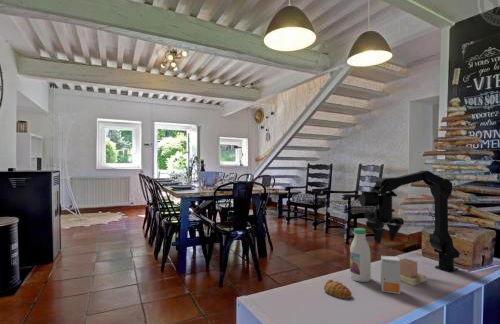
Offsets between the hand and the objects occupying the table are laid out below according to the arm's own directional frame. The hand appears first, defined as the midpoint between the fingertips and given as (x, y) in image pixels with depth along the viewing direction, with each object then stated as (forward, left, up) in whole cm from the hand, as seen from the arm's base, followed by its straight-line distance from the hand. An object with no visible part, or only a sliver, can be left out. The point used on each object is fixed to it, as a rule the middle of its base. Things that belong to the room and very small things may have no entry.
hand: (385, 242), depth 122 cm
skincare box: (+18, +14, -12) cm, 26 cm away
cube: (+2, +11, -10) cm, 15 cm away
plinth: (+2, +11, -12) cm, 16 cm away
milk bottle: (+18, +1, -12) cm, 22 cm away
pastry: (+36, +5, -12) cm, 38 cm away
